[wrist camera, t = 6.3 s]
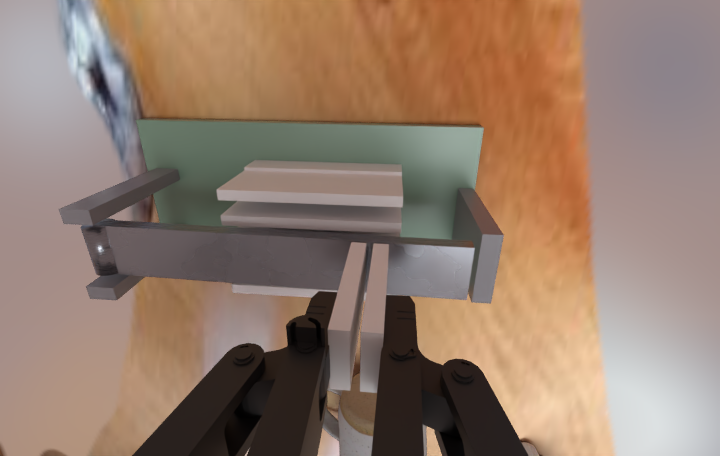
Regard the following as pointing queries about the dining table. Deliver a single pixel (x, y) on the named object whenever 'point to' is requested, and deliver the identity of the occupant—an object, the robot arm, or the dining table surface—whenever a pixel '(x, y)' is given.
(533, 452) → the electrical switch
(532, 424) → the dining table surface
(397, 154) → the base
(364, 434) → the ceramic mug
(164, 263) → the grey retaining bar
